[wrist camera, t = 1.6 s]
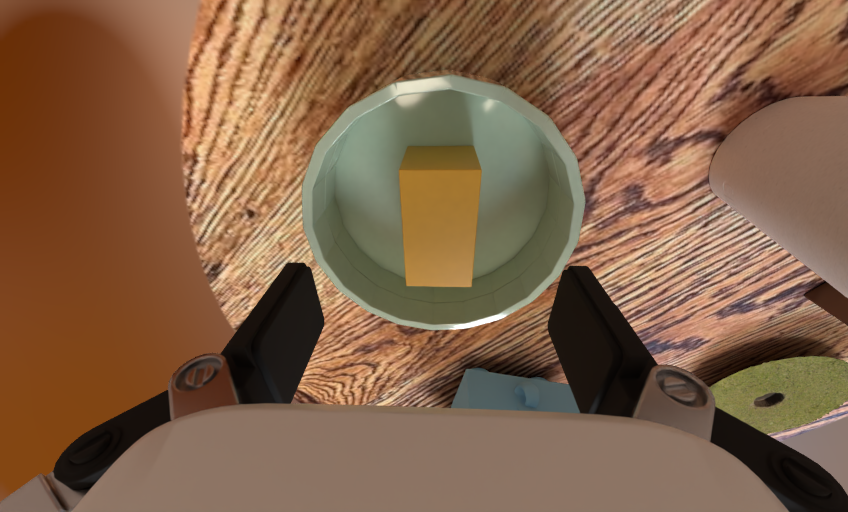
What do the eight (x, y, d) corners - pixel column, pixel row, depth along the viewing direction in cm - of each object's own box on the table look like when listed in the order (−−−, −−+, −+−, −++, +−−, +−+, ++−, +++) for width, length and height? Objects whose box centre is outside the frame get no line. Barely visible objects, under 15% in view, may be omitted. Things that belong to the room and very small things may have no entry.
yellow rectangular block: (407, 145, 17) (398, 169, 13) (474, 145, 16) (482, 169, 13) (411, 247, 20) (405, 286, 17) (467, 248, 20) (471, 287, 17)
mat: (650, 391, 28) (663, 412, 27) (781, 316, 23) (807, 337, 21) (729, 428, 31) (745, 449, 29) (864, 369, 25) (893, 390, 24)
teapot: (426, 329, 25) (416, 494, 16) (634, 363, 26) (741, 536, 17) (400, 427, 34) (385, 571, 25) (557, 450, 35) (600, 596, 26)
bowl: (387, 7, 14) (367, -9, 10) (606, 156, 17) (652, 186, 13) (302, 231, 21) (272, 271, 17) (470, 309, 24) (475, 357, 20)
